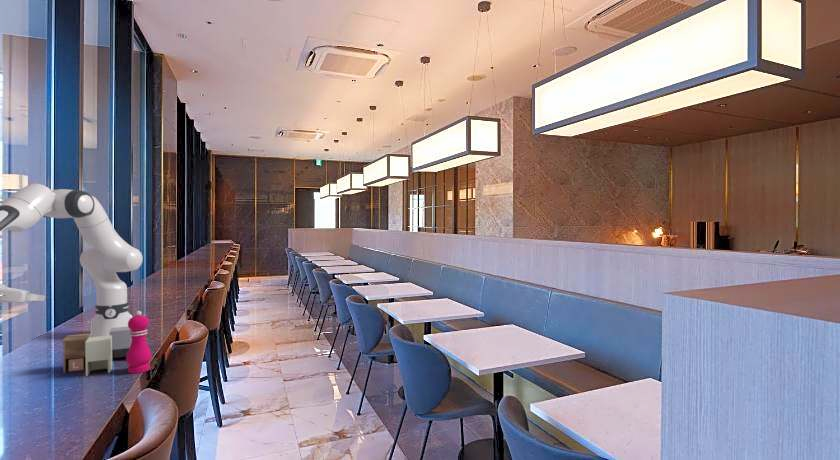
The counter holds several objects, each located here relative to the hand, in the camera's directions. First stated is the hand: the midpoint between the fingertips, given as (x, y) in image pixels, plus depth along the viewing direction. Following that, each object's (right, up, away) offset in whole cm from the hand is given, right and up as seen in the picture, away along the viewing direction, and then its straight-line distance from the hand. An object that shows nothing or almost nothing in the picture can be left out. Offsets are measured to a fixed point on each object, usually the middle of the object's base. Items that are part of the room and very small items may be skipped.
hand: (45, 298), depth 148 cm
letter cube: (+7, -25, +4) cm, 26 cm away
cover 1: (+16, -25, +2) cm, 30 cm away
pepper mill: (+29, -25, +3) cm, 38 cm away
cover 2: (+15, -24, +15) cm, 32 cm away
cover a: (+7, -25, +4) cm, 26 cm away
